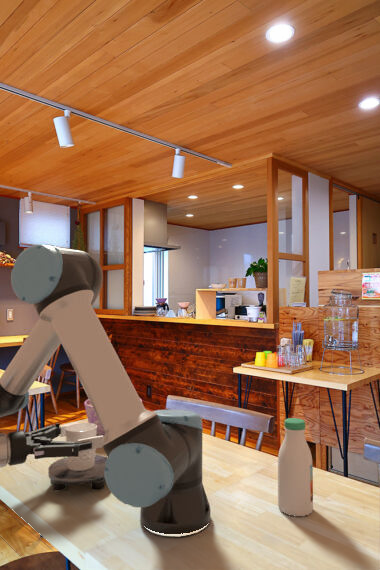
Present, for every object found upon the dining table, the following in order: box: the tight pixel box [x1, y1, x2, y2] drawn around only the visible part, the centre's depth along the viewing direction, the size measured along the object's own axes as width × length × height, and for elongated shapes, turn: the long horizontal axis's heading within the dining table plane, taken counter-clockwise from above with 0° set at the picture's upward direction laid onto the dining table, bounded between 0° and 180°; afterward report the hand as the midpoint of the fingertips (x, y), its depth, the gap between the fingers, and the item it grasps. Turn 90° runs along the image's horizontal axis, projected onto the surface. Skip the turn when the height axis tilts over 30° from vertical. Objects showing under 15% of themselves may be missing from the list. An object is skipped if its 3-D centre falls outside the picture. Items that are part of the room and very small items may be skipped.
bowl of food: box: [83, 398, 143, 436], centre depth 153 cm, size 20×20×12 cm
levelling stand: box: [47, 454, 108, 492], centre depth 114 cm, size 17×16×4 cm
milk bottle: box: [277, 417, 314, 517], centre depth 99 cm, size 8×8×20 cm
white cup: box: [65, 422, 98, 471], centre depth 113 cm, size 8×8×10 cm
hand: (93, 434), depth 115 cm, fingers open, 13 cm apart
